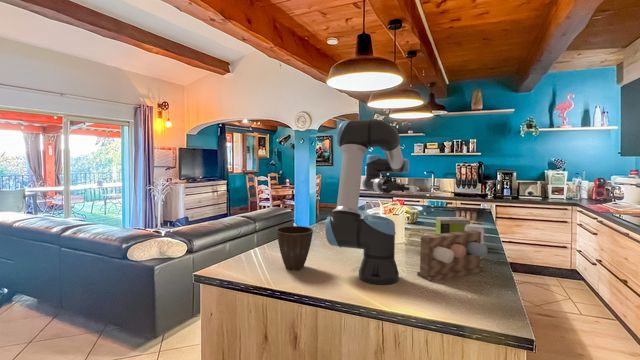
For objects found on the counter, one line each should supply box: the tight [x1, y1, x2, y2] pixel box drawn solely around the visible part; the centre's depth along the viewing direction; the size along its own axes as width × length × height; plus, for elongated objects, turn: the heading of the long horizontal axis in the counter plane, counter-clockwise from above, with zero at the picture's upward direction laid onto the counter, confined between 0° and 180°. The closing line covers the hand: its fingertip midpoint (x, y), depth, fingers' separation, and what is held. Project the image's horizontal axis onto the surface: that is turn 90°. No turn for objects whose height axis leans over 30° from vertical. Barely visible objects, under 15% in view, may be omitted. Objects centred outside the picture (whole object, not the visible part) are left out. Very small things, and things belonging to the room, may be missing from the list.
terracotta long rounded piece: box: [450, 243, 466, 258], centre depth 132 cm, size 5×9×5 cm, turn 25°
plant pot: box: [276, 225, 314, 271], centre depth 138 cm, size 15×15×16 cm
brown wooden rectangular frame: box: [416, 230, 484, 283], centre depth 133 cm, size 28×7×16 cm, turn 115°
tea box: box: [435, 216, 471, 234], centre depth 176 cm, size 15×10×15 cm, turn 84°
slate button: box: [467, 241, 488, 258], centre depth 134 cm, size 5×9×5 cm, turn 25°
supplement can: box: [464, 223, 485, 260], centre depth 155 cm, size 8×8×15 cm
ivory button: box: [432, 246, 454, 263], centre depth 126 cm, size 5×9×5 cm, turn 25°
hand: (415, 189), depth 149 cm, fingers closed
